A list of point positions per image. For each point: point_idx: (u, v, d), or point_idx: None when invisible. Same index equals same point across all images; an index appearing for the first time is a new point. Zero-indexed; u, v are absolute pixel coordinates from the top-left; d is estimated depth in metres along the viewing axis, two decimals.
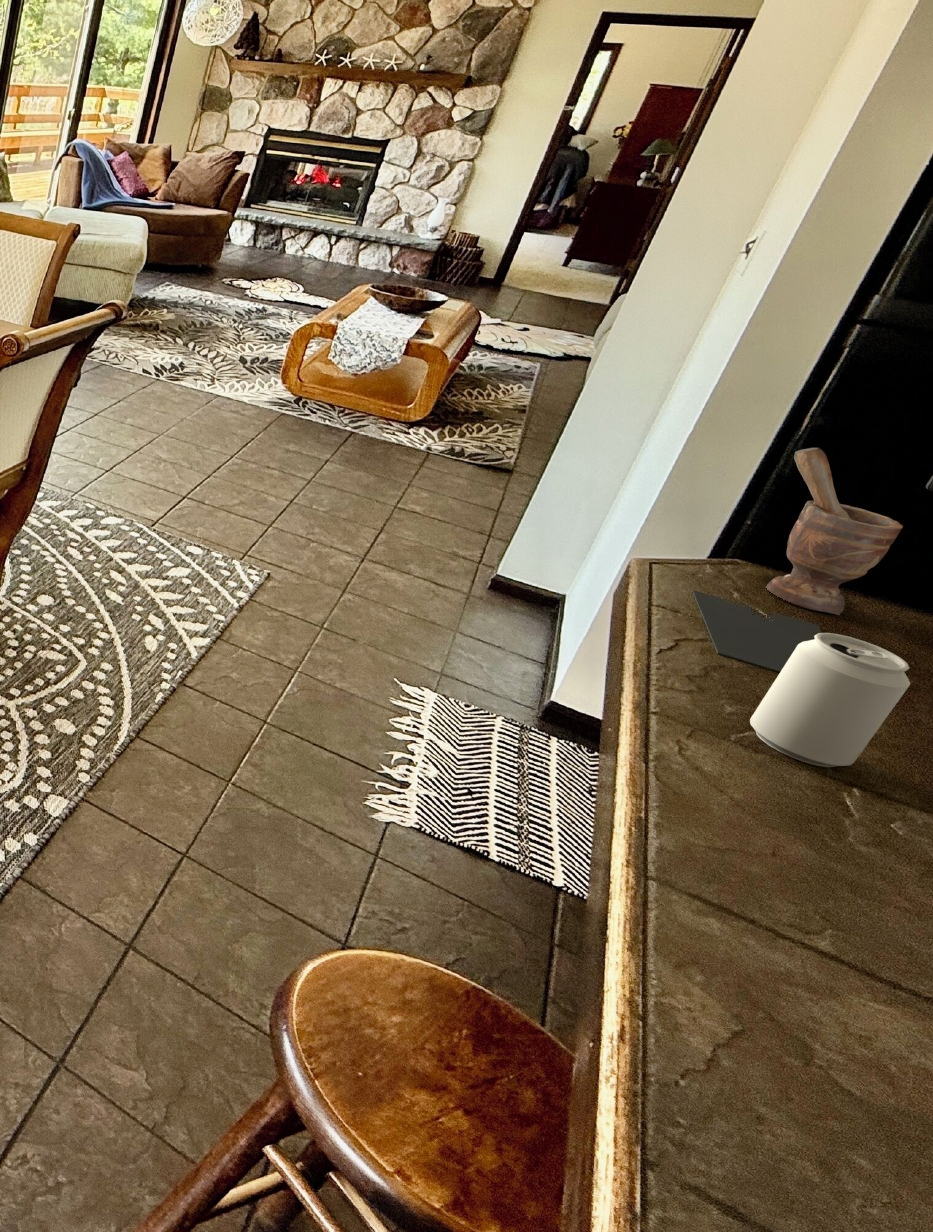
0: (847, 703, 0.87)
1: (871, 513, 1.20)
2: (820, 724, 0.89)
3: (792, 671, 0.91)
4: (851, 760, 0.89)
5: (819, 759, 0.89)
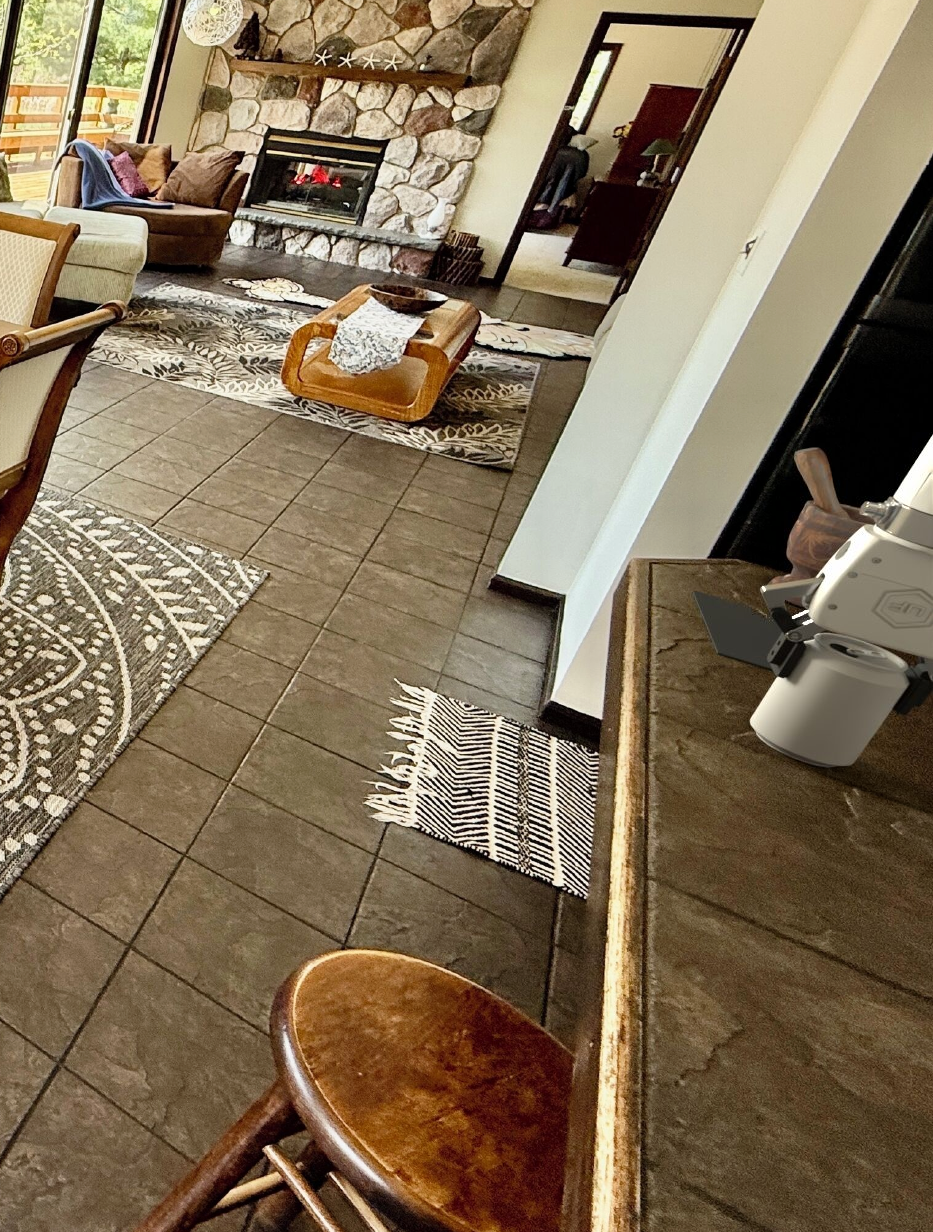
0: (846, 703, 0.87)
1: None
2: (820, 724, 0.89)
3: (792, 671, 0.91)
4: (851, 760, 0.89)
5: (819, 759, 0.89)
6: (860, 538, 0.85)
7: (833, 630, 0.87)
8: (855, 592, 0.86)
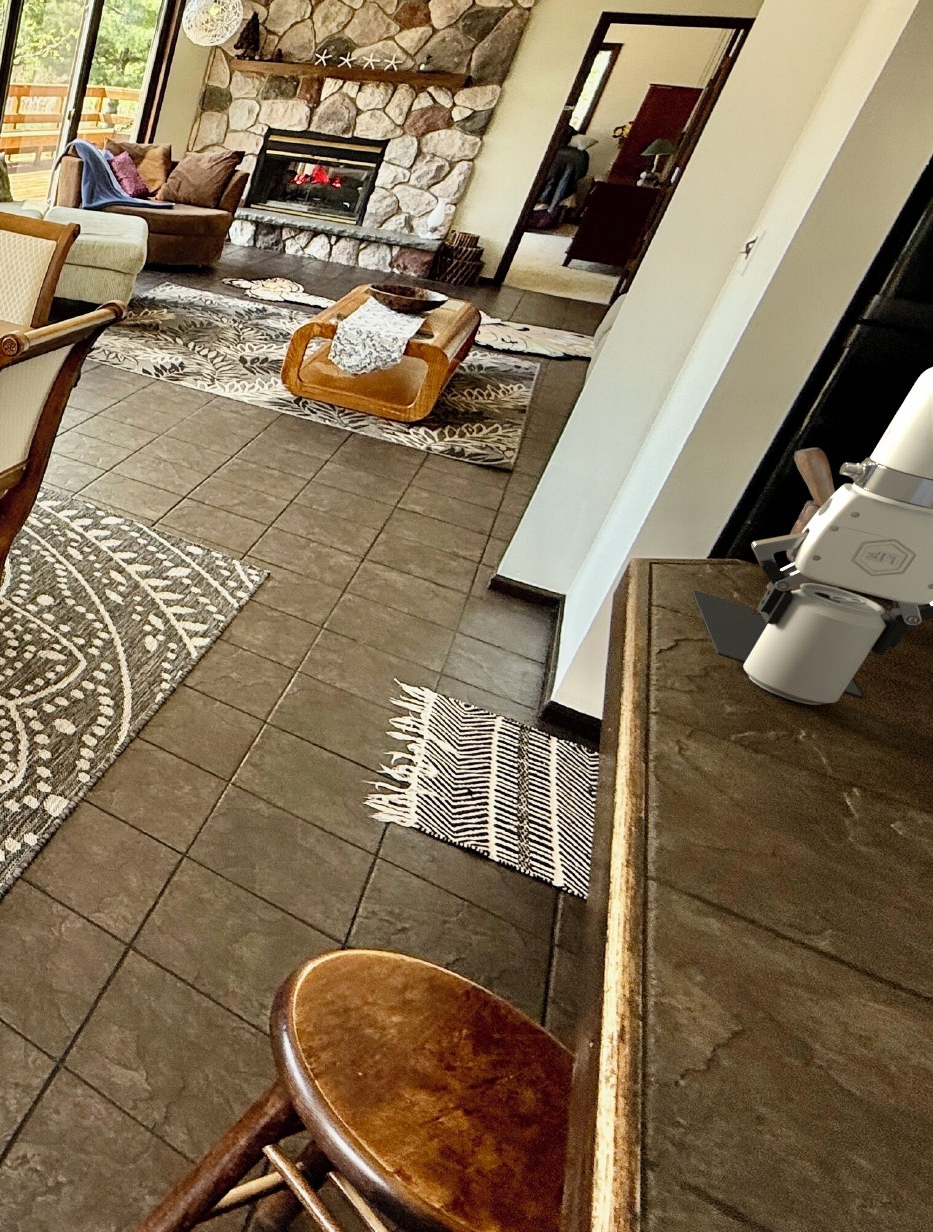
0: (831, 643, 0.97)
1: None
2: (807, 664, 0.98)
3: (781, 618, 1.00)
4: (835, 697, 0.98)
5: (807, 697, 0.99)
6: (840, 495, 0.95)
7: (817, 579, 0.97)
8: (836, 544, 0.95)
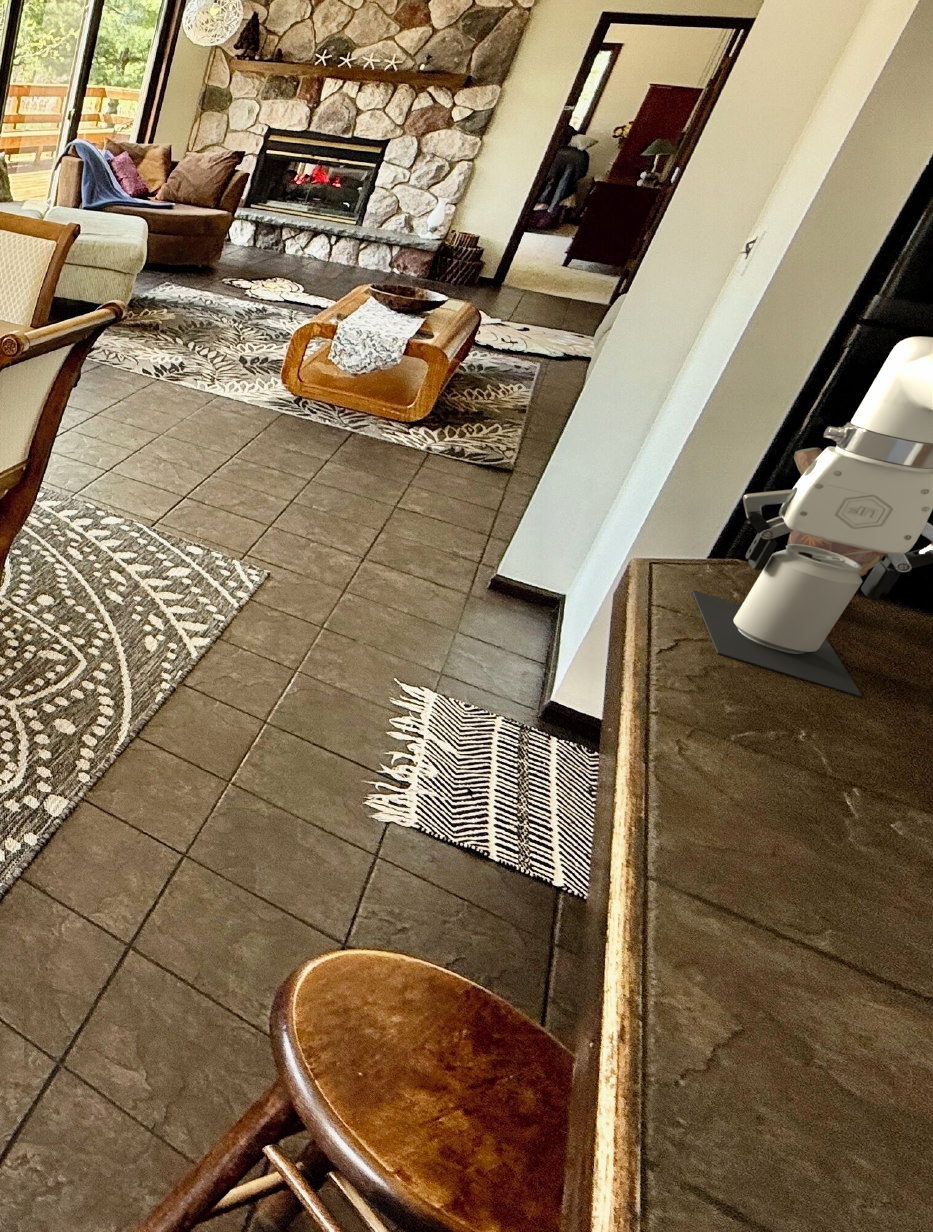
0: (812, 598, 1.07)
1: None
2: (790, 617, 1.08)
3: (767, 576, 1.10)
4: (815, 647, 1.09)
5: (790, 646, 1.09)
6: (824, 456, 1.05)
7: (804, 533, 1.07)
8: (821, 500, 1.05)
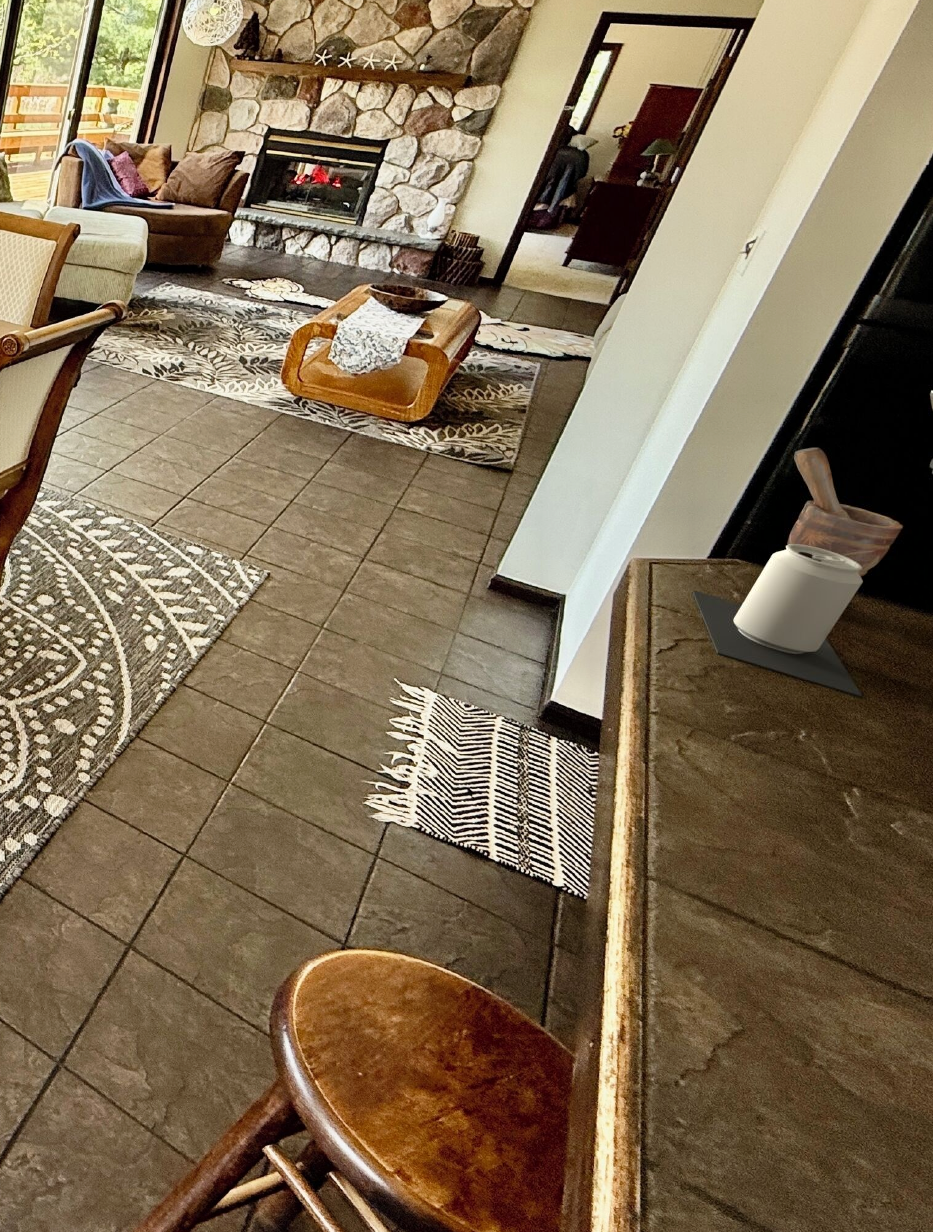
0: (812, 598, 1.07)
1: (871, 513, 1.20)
2: (790, 617, 1.08)
3: (767, 576, 1.10)
4: (815, 647, 1.09)
5: (790, 646, 1.09)
6: None
7: None
8: None
